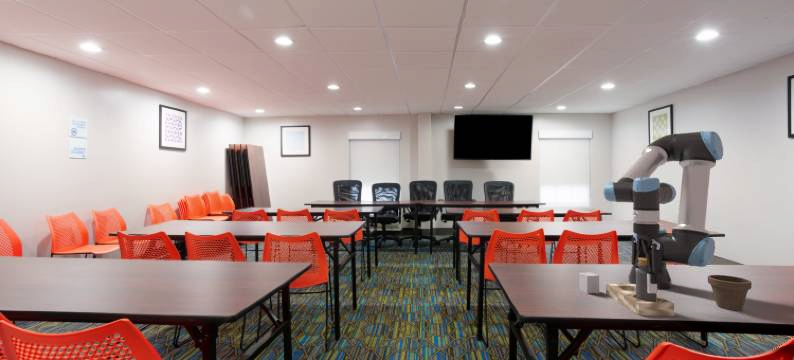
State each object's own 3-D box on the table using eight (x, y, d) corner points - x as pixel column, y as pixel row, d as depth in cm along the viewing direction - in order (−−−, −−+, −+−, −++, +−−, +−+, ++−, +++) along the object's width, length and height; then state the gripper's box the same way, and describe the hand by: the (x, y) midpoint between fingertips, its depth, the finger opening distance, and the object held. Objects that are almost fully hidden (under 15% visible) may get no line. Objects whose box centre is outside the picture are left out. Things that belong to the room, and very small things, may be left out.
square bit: (591, 289, 150) (591, 272, 150) (599, 293, 145) (599, 275, 145) (579, 290, 150) (579, 272, 150) (587, 293, 145) (587, 276, 145)
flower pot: (714, 299, 137) (714, 272, 136) (756, 308, 127) (756, 279, 127) (702, 305, 130) (702, 277, 130) (745, 315, 121) (745, 285, 121)
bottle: (653, 300, 129) (653, 257, 129) (659, 306, 123) (659, 261, 123) (633, 298, 131) (633, 256, 131) (638, 304, 125) (638, 259, 125)
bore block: (635, 294, 143) (635, 284, 143) (674, 315, 121) (674, 303, 121) (606, 294, 144) (605, 283, 144) (639, 315, 122) (639, 303, 122)
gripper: (620, 219, 137) (620, 282, 137) (651, 226, 118) (651, 298, 118) (641, 219, 136) (641, 282, 136) (676, 226, 117) (676, 299, 117)
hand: (646, 289), depth 127 cm, fingers closed on bottle, 6 cm apart
